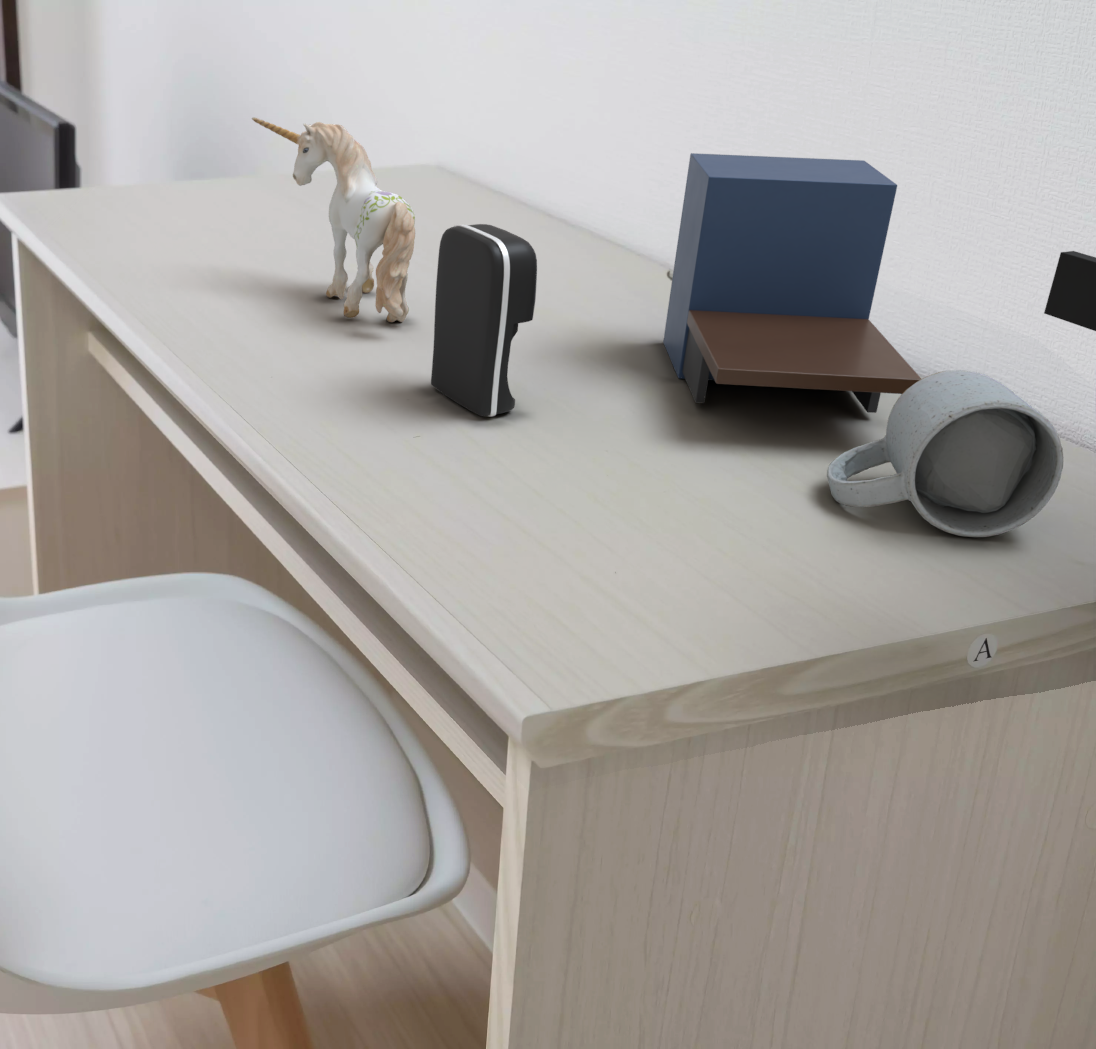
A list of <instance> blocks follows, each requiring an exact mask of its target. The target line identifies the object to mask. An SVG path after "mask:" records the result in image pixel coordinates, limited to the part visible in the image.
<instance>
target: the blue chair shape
mask: <svg viewBox="0 0 1096 1049" xmlns="http://www.w3.org/2000/svg"><path fill="white" fill-rule="evenodd" d="M687 168H688V169H687V174H686V180H685V181H686V183H685V189H684V195H683V196H684V197H683V203H682V208H681V209H682V211H681V216H680V224H679V230H678V236H677V237H678V238H677V244H676V252H675V257H674V265H673V270H672V271H673V272H672V279H671V286H670V291H669V292H670V293H669V297H668V298H669V300H668V304H667V305H668V306H667V313H666V319H665V326H664V333H663V340H662V343H663V345H664V348H665V351H666V352H667V354H668V357H669V360H670V361H671V364H672V367H673V369H674V371H675V374H676V376H677V378H678V379H684V380H685V382H686V384H687V386H688V388H689V390H690V391H689V392H690V393H691V395H692V397H693V400H694V402H695V404H696V403H697V404H705V402H706V397H707V390H708V385H709V384H708V383H709V381H714V382H715V384H717V385H734V386H750V387H767V388H768V387H769V388H786V389H787V388H789V389H805V390H823V391H839V392H840V391H842V392H852V394H853V395H854V397H855V398H856V399H857V401H858V402H859V403H860V404H861V406H862V407H863V409H864V410H865V411H866V413H873V414H877V412H878V408H879V403H880V398H881V395H882V394H893V395H894V394H897V395H902V393H903V392H904V391H905V390H906V389H908V388H909V387H911V386H912V385H913V384H915V383H916V382H918V381H919V380H920V379H922V377H921V376H920V375H919V374H918V373H917V372H916V371H915V369H914V368H913V367H912V366H911V365H910V364H909V363H908V362H907V361H906V359H905V358H904V357H903V356H902V355H901V354H900V352H898V350H896V348H895V347H894V346H893V345H892V343H890V341H889V340H888V339H887V338H886V337H885V336H884V334H882V332H880V330H879V329H878V328H877V327H876V326H875V325H874V323H873V322H872V321H871V319H870V315H871V311H872V306H873V301H874V297H875V292H876V287H877V283H878V277H879V273H880V269H881V265H882V260H883V256H884V255H883V254H884V250H885V245H886V242H887V241H886V240H887V236H888V231H889V227H890V221H891V217H892V212H893V208H894V203H895V198H896V194H897V189H898V184H897V183H895V182H894V181H893V180H891V179H890V178H888V177H887V176H886V175H885V174H884V173H882V172H881V171H879V170H878V169H876V168H875V167H873V165H871V163H868V162H867V161H866V160H861V159H836V158H835V159H834V158H814V157H813V158H811V157H791V156H789V157H788V156H765V155H745V154H744V155H743V154H721V153H719V154H716V153H697V152H696V153H692V152H691V153H690V155H689V161H688V167H687Z"/></svg>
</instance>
